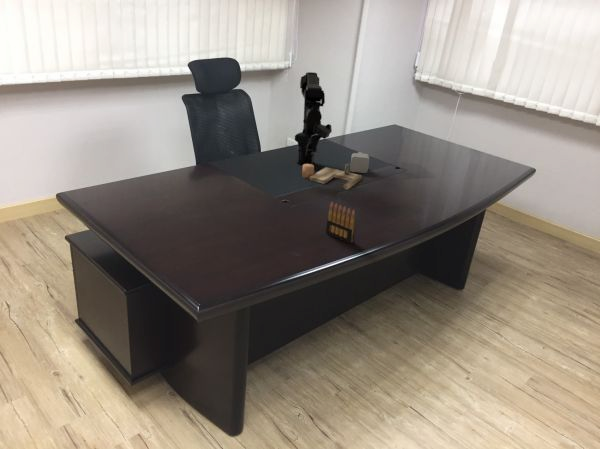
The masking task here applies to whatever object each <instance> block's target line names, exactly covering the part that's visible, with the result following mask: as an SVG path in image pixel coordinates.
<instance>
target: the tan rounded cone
mask: <svg viewBox="0 0 600 449" xmlns="http://www.w3.org/2000/svg"><path fill="white" fill-rule="evenodd" d="M301 171H302V172H301V173H302V174H301V176H302V178H303V179H310V177H311V176H312V175H314V174H315V173H314V172H315V165H314V164H304V165H302V170H301Z"/></svg>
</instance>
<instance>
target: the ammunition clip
mask: <svg viewBox="0 0 600 449" xmlns="http://www.w3.org/2000/svg"><path fill="white" fill-rule="evenodd" d="M327 216H328V217H327V218H328V219H327V220H326V225H325V226H326V227H325V234H326V233H327V235H328V234H329V235H328V236H331V237H333V236H334V238H336V237H337V238H336V239H338V238H339V239H338V240H340V239H342V240H341V241H343V240H344V241H343V242H345V241H346V242H345V243H347V242H348V243H347V244H350V243H351V244H353V243H355V230H356V228H355V223H356V221H355V220H356V219H355V216H356V211H355V209H353V210H352V211H351V208H350V207H348V208H347V207H346V205H344V206H343V208H342V204H339V206H338V203H337V202H336V203H335V204H334V202H333V201H331V203H330V204H329V211H328V215H327ZM352 242H353V243H352Z"/></svg>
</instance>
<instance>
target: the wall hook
mask: <svg viewBox="0 0 600 449" xmlns="http://www.w3.org/2000/svg"><path fill="white" fill-rule="evenodd" d="M369 165H370V155H369V154H368V153H363V152H362V151H358V152H353V153H352V154H351V159H350V168H349V171H351V173H363V174H366V173H368V172H369Z"/></svg>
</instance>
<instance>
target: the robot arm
mask: <svg viewBox="0 0 600 449" xmlns="http://www.w3.org/2000/svg"><path fill="white" fill-rule="evenodd" d="M299 83H300V84H299V88H300V90H301V91H300V92H301V95H302V96H303V97H302V98H303V100H304V101H303V102H304V104H303V119H302V120H303V125H302V128H303V129H302V132H299V133H296V134H295V135H294V141H295V142H296V143H297V145H296V146H297V152H298V161H297V162H296V164H298V165H302V166H303V165H304V164H312V165H314V164H315V154H314V153H316V152H317V150H318V145H319V143H320V140H321V139H324V140H326V138H329V137H330V134H331V133H332V132H333V131H332V125H331V124H329V123H328V124H326V125H325V124H322V112H321V110H320V109H321V107H324V104H325V103H326V100H325V98H326V97H325V91H324V90H323V88H322V86H321V85H320V77H319V76H318V73H316V72H313V71H311V72H310V71H307V72H305V75H302V76H300V82H299Z"/></svg>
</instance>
